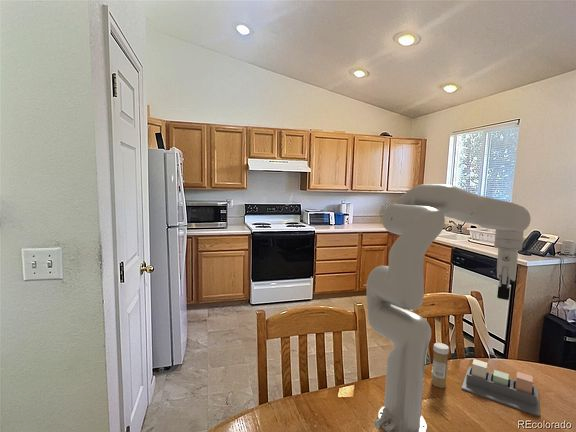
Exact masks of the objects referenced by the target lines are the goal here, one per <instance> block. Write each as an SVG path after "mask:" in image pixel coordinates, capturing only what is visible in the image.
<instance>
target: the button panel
mask: <svg viewBox="0 0 576 432" xmlns="http://www.w3.org/2000/svg"><path fill="white" fill-rule="evenodd" d="M471 374H472V366H470V365H469V366H468V368H467V371H466V374H465V377H464V379H463V381H462V382H463V383H462V385H461V390H462V391H465V392H468V393H470V394H473V395H477V396H480V397H481V398H484V399H488V400H491V401H494V402H497V403H498V404H501V405H505V406H508V407H511V408H513V409H516V410H518V411H522V412H525V413H528V414H530V415H533V416H536V417H538V418H540V416H541V415H540V399H539V390H538V389H537V386H535V385H533V386H532V394H528V393H525V392H522V391H519V390H516V389H515V386H516V379H512V378H508V387H507V386H504V385H501V384H498V383H495V382H493V374H494V372H490V371H487V375H486V380H485V379H482V378H479V377H476V376H473V375H471Z"/></svg>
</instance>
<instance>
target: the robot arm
mask: <svg viewBox="0 0 576 432" xmlns="http://www.w3.org/2000/svg"><path fill="white" fill-rule="evenodd" d="M445 217H446V218H450V219H454V220H457V221H460V222H463V223H468V224H472V225H478V226H479V227H481V228H484V229H489V230H495V233H494V242H493V243H494V244H493V247H494V248H496V249H497V261H496V262H497V263H496V276H497V277H496V278H497V279H498V280H499V283H498V285H497V287H498V288H497V296H496V297H497V299H499V300H506V301H509V300H510V292H511V287H510V282H511V281H512V282H515V281H516V278H517V277H516V276H517V269H518V259H519V258H518V257H519V256H518V255H519V254H518V253H519V251H522V250H523V242H524V231H525V230H527V229H528V227H529V226H530V223H531V218H532V217H531V215H530V212H529V210H528V209H526V208H525V207H524V206H522V205H519V204H517V203H515V202H510V201H506V200H502V199H497V198H493V197H490V196H489V197H488V196H485V195H480V194H476V193H473V192H471V191H468V190H466V189H463V188H459V187H458V186H455V185H452V184H444V183H438V184H437V183H424V184H423V183H421V184H418V185H416V186H414V187H412V188H411V189H409V190H408V191H406V192H405V193H403V194H402V195H400V196H399V197H398V198H396V199H395V200H394V201H393V202H391V203H390V204H389V205H388V206H387V207H385V210H384V211H383V213H382V217H381V221H382V226H383V228H384V229H385V230H386V231H387V232H389V233H391V234H394V235H399V236H398V237H397V239H396V240H395V241H394V242H393V244H392V245H391V247H390V250H389V251H388V265H377V266H376V267H375V268H373V269H372V270H371V271H370V273H369V274H368V277H367V278H366V279H367V280H366V287H365V289H366V305H367V306H366V308H367V321H368V324H369V325H370V327H371V329H372V330H373V331H374V332H376V333H377V334H378V335H380V336H382V337H384V338H386V339H387V340H388V341H390V342H391V343H393V344H394V348H393V349H391V351H390V352H389V353H388V355H387V359H386V372H385V386H384V387H385V388H384V404H383V405H384V406H382V407H381V408H380V409H379V410H378V412H377V418H376V419H375V420H374V421H373V427H374V428H375V429H377V430H378V429H380V428H382V429H383V430H384V431H385V432H427V428H428V427H427V426H428V425H427V423H426V420H425V419H424V417H423V416H422V409H423V408H422V407H423V391H424V381H425V379H424V378H425V365H426V357H427V352H428V349H429V345H430V342H431V337H432V328H431V326H430V323H429V322H428V321H427V320H426V319H425V318H424V317H423V316H422V315H419V314H418V313H415V312H413V311H416V310H418V309H419V308H421V307H422V305H423V302H424V297H425V293H424V292H425V289H424V288H425V281H424V260H425V259H424V258H425V255H426V252H427V251H428V249H429V248H430V246H431V245H432V243H433V242H434V241H435V240H436V238H437V237H438V236H439V235H440V234H441V232H443V229H444V227H445V223H446V220H445V219H446V218H445Z"/></svg>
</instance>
